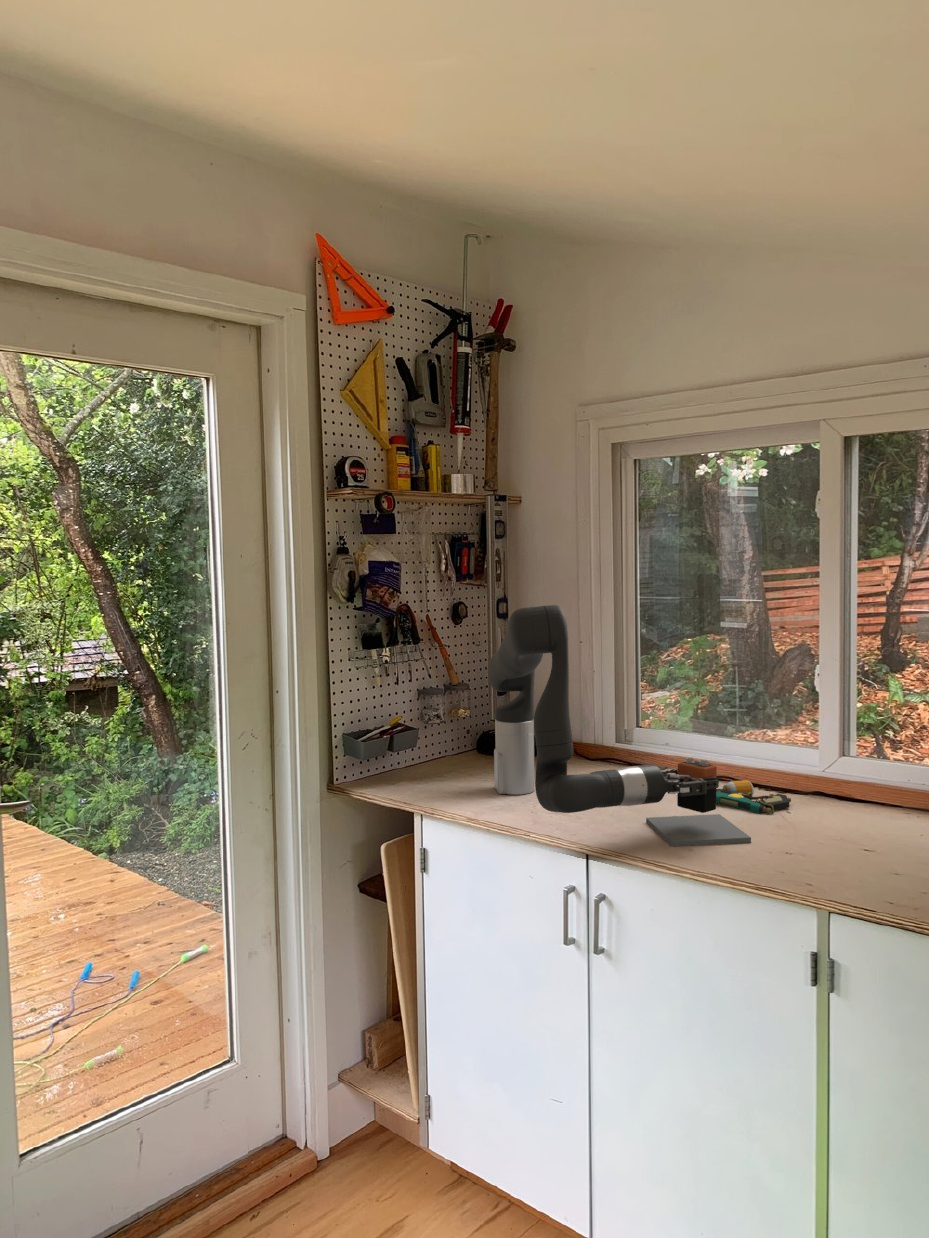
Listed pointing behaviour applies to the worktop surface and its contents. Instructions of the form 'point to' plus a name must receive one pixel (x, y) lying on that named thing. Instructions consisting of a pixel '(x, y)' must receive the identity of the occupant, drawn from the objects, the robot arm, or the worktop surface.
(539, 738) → the robot arm
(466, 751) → the worktop surface
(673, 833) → the mat
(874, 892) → the worktop surface
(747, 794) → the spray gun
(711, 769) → the battery
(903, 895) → the worktop surface
